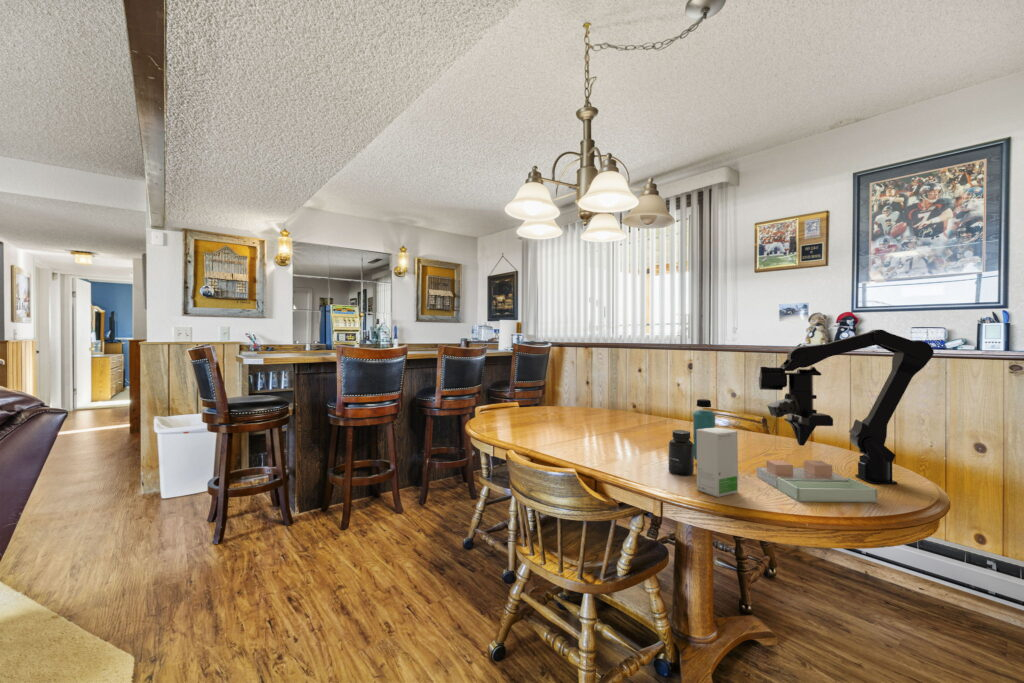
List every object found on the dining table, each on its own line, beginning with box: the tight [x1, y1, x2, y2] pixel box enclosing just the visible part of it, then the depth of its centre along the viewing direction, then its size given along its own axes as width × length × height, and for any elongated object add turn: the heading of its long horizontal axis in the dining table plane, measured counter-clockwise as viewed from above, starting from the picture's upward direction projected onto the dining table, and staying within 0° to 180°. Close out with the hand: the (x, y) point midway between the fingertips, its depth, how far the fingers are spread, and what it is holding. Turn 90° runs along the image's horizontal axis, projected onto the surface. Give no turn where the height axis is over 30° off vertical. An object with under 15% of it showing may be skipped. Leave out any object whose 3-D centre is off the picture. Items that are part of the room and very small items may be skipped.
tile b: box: [766, 459, 794, 474], centre depth 117 cm, size 4×4×2 cm
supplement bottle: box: [668, 429, 695, 477], centre depth 125 cm, size 7×7×12 cm
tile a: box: [803, 460, 833, 475], centre depth 116 cm, size 4×4×2 cm
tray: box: [776, 477, 878, 504], centre depth 106 cm, size 18×9×3 cm, turn 87°
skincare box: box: [696, 427, 739, 498], centre depth 110 cm, size 8×7×16 cm
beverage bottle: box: [692, 398, 716, 461], centre depth 133 cm, size 6×7×20 cm
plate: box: [756, 466, 848, 489], centre depth 116 cm, size 18×10×2 cm, turn 87°
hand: (801, 445), depth 124 cm, fingers closed
